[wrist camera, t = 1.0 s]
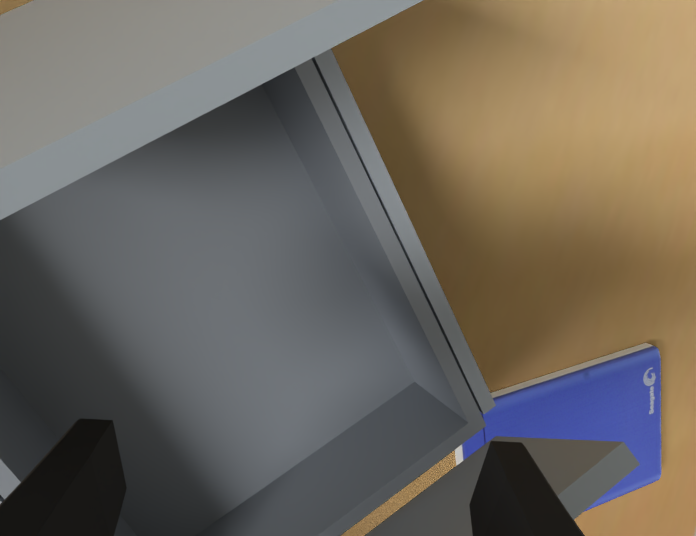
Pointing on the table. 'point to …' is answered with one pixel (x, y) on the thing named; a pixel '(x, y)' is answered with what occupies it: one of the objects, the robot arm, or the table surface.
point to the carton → (237, 322)
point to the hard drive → (587, 411)
